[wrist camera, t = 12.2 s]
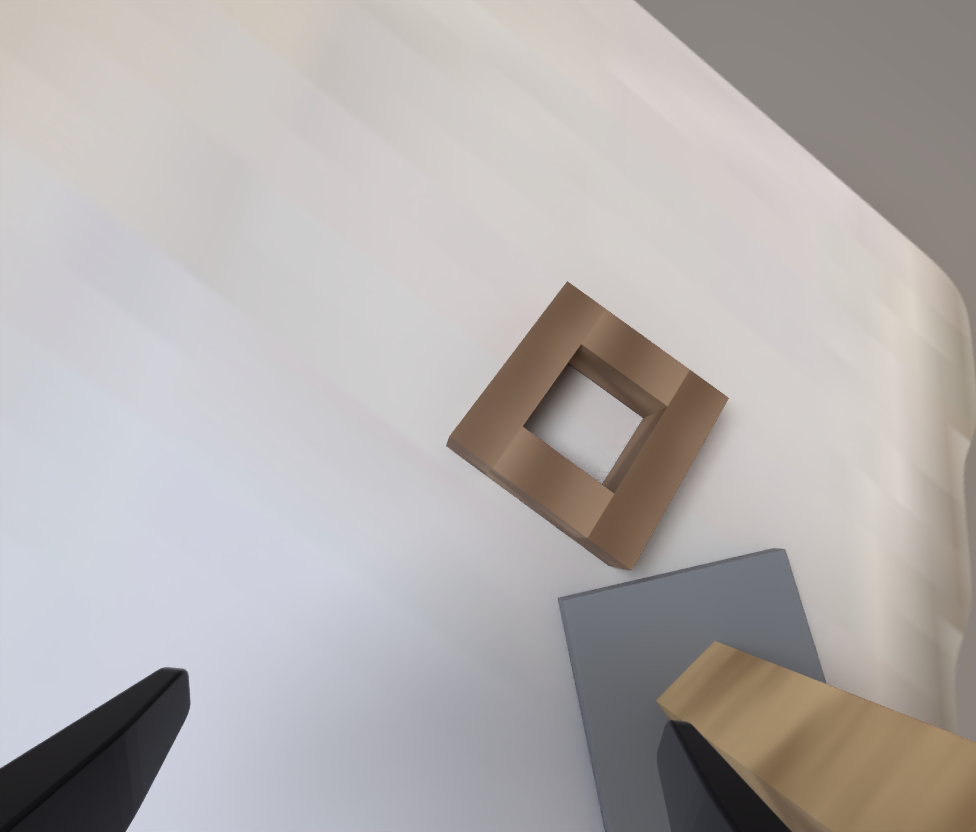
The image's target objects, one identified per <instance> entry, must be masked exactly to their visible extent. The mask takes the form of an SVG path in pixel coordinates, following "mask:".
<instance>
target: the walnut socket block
mask: <svg viewBox="0 0 976 832" xmlns="http://www.w3.org/2000/svg"><path fill="white" fill-rule="evenodd" d="M567 363H568V364H570V365H571V366H572V367H574V368H575V369H577V370H578V371H579V372H581V373H582V374H583V375H585V376H586V377H588V378H589V379H590V380H592V381H593V382H595V383H596V384H597V385H599V386H600V387H601V388H603V389H604V390H606V391H607V392H608V393H610V394H611V395H612V396H614V397H615V398H617V399H618V400H619V401H621V402H622V403H623V404H625V405H626V406H628V407H629V408H630V409H632V410H633V411H634V412H636V413H637V414H639V415H640V416H641V417H643V420H642V421H641V423H640V424H639V426H638V428H637V429H636V431H635V432H634V434H633V436H632V437H631V439H630V440H629V442H628V444H627V445H626V447H625V449H624V450H623V452H622V453H621V455H620V457H619V458H618V460H617V461H616V463H615V465H614V466H613V468H612V469H611V471H610V473H609V474H608V476H607V477H606V479H605V481H604V482H603V484H600V483H599V482H598V481H596V480H595V479H594V478H592V477H591V476H589V475H588V474H587V473H585V472H584V471H583V470H581V469H580V468H579V467H577V466H576V465H574V464H573V463H572V462H570V461H569V460H568V459H566V458H565V457H563V456H562V455H561V454H559V453H558V452H557V451H555V450H554V449H553V448H551V447H550V446H548V445H547V444H546V443H544V442H543V441H542V440H540V439H539V438H538V437H536V436H535V435H533V434H532V433H531V432H529V431H528V430H527V429H525V428H524V427H523V425H524V424H525V422H526V421H527V420H528V418H529V417H530V415H531V414H532V412H533V411H534V410H535V408H536V407H537V405H538V404H539V403H540V401H541V400H542V398H543V397H544V396H545V394H546V393H547V391H548V390H549V389H550V387H551V386H552V384H553V383H554V381H555V380H556V379H557V377H558V376H559V374H560V373H561V372H562V370H563V369H564V367H565V366H566V365H567ZM728 399H729V398H728V397H727V396H725V395H724V394H723V393H721V392H720V391H719V390H717V389H716V388H714V387H713V386H712V385H710V384H709V383H707V382H706V381H705V380H703V379H702V378H701V377H699V376H698V375H696V374H695V373H694V372H692V371H691V370H689V369H688V368H687V367H685V366H684V365H683V364H681V363H680V362H678V361H677V360H676V359H674V358H673V357H671V356H670V355H669V354H667V353H666V352H665V351H663V350H662V349H660V348H659V347H658V346H656V345H655V344H653V343H652V342H651V341H649V340H648V339H647V338H645V337H644V336H642V335H641V334H640V333H638V332H637V331H635V330H634V329H633V328H631V327H630V326H629V325H627V324H626V323H624V322H623V321H622V320H620V319H619V318H617V317H616V316H615V315H613V314H612V313H611V312H609V311H608V310H606V309H605V308H604V307H602V306H601V305H599V304H598V303H597V302H595V301H594V300H593V299H591V298H590V297H588V296H587V295H586V294H584V293H583V292H582V291H580V290H579V289H577V288H576V287H575V286H573V285H572V284H570V283H569V282H568V281H567V282H566V284H565V285H564V286H563V288H562V289H561V290H560V292H559V293H558V294H557V296H556V297H555V298H554V299H553V301H552V302H551V303H550V305H549V306H548V307H547V309H546V310H545V311H544V313H543V314H542V315H541V317H540V318H539V319H538V321H537V322H536V323H535V324H534V326H533V327H532V328H531V330H530V331H529V332H528V334H527V335H526V336H525V338H524V339H523V340H522V342H521V343H520V344H519V346H518V347H517V348H516V350H515V351H514V352H513V353H512V355H511V356H510V357H509V359H508V360H507V361H506V363H505V364H504V365H503V367H502V368H501V369H500V371H499V372H498V373H497V375H496V376H495V377H494V378H493V380H492V381H491V382H490V384H489V385H488V386H487V388H486V389H485V390H484V392H483V393H482V394H481V396H480V397H479V398H478V400H477V401H476V402H475V404H474V405H473V406H472V407H471V409H470V410H469V411H468V413H467V414H466V415H465V417H464V418H463V419H462V421H461V422H460V423H459V425H458V426H457V427H456V429H455V430H454V431H453V432H452V434H451V435H450V436H449V439H448V442H447V445H446V446H447V447H448V448H450V449H451V450H452V451H454V452H455V453H456V454H458V455H459V456H460V457H462V458H463V459H465V460H466V461H467V462H469V463H470V464H471V465H473V466H474V467H475V468H477V469H478V470H480V471H481V472H482V473H484V474H485V475H486V476H488V477H489V478H490V479H492V480H493V481H494V482H496V483H497V484H499V485H500V486H501V487H503V488H504V489H505V490H507V491H508V492H509V493H511V494H512V495H513V496H515V497H516V498H518V499H519V500H520V501H522V502H523V503H524V504H526V505H527V506H528V507H530V508H531V509H532V510H534V511H535V512H537V513H538V514H539V515H541V516H542V517H543V518H545V519H546V520H547V521H549V522H550V523H551V524H553V525H554V526H556V527H557V528H558V529H560V530H561V531H562V532H564V533H565V534H566V535H568V536H569V537H570V538H572V539H573V540H575V541H576V542H577V543H579V544H580V545H581V546H583V547H584V548H585V549H587V550H588V551H590V552H591V553H592V554H594V555H595V556H596V557H598V558H599V559H600V560H602V561H603V562H604V563H606V564H607V565H609V566H612V567H617V568H622V569H626V570H632V569H633V567H634V565H635V563H636V562H637V560H638V558H639V556H640V555H641V553H642V551H643V549H644V547H645V546H646V544H647V542H648V540H649V539H650V537H651V535H652V533H653V532H654V530H655V528H656V526H657V524H658V523H659V521H660V519H661V517H662V516H663V514H664V512H665V510H666V509H667V507H668V505H669V503H670V501H671V500H672V498H673V496H674V494H675V493H676V491H677V489H678V487H679V486H680V484H681V482H682V480H683V478H684V477H685V475H686V473H687V471H688V470H689V468H690V466H691V464H692V463H693V461H694V459H695V457H696V455H697V454H698V452H699V450H700V448H701V447H702V445H703V443H704V441H705V440H706V438H707V436H708V434H709V432H710V431H711V429H712V427H713V425H714V424H715V422H716V420H717V418H718V417H719V415H720V413H721V411H722V409H723V408H724V406H725V404H726V402H727V401H728Z"/></svg>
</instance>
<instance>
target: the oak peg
mask: <svg viewBox="0 0 976 832" xmlns="http://www.w3.org/2000/svg"><path fill="white" fill-rule="evenodd" d="M656 701H657V703H658V704H659V706H660V707H661V708H662V710H663V711H664V712H665V714H666V715H667V717H668V718H669V719H670V720H679V721H687V722H689V723H691V724H692V725H693V726H694V727H695V728H696V729H697V730H698V731H699V732H700V733H701V734H702V735H703V736H704V738H705V739H706V740H707V741H708V742H709V743H710V744H711V745H712V746H713V747H714V748H715V749H716V750H717V751H718V753H719V754H720V755H721V756H722V757H723V758H724V759H725V760H726V761H727V762H728V763H729V764H730V765H731V766H732V768H733V769H734V770H735V771H736V772H737V773H738V774H739V775H740V776H741V777H742V778H743V779H744V780H745V782H746V783H747V784H748V785H749V786H750V787H751V788H752V789H753V790H754V791H755V792H756V793H757V794H758V795H759V797H760V798H761V799H762V800H763V801H764V802H765V803H766V804H767V805H768V806H769V807H770V808H771V809H772V810H773V812H774V813H775V814H776V815H777V816H778V817H779V818H780V819H781V820H782V821H783V822H784V823H785V824H786V825H787V827H788V828H789V829H790V830H791V831H792V832H976V742H973V741H971V740H968V739H965V738H963V737H961V736H958V735H956V734H953V733H950V732H948V731H945V730H943V729H940V728H938V727H935V726H932V725H930V724H927V723H925V722H922V721H920V720H917V719H914V718H912V717H909V716H907V715H904V714H902V713H899V712H897V711H894V710H891V709H889V708H886V707H884V706H881V705H879V704H876V703H873V702H871V701H868V700H866V699H863V698H861V697H858V696H856V695H853V694H850V693H848V692H845V691H843V690H840V689H838V688H835V687H832V686H830V685H827V684H825V683H822V682H820V681H817V680H814V679H812V678H809V677H807V676H804V675H802V674H799V673H797V672H794V671H791V670H789V669H786V668H784V667H781V666H779V665H776V664H773V663H771V662H768V661H766V660H763V659H761V658H758V657H755V656H753V655H750V654H748V653H745V652H743V651H740V650H738V649H735V648H732V647H730V646H727V645H725V644H722V643H720V642H717V641H714V642H713V643H712V644H711V645H710V646H709V647H708V648H707V649H706V650H705V651H704V652H703V653H702V654H701V655H700V656H699V657H698V658H697V659H696V660H695V661H694V662H693V663H692V664H691V665H690V666H689V667H688V668H687V669H686V670H685V671H684V672H683V674H682V675H681V676H680V677H679V678H678V679H677V680H676V681H675V682H674V683H673V684H672V685H671V686H670V687H669V688H668V689H667V690H666V691H665V692H664V693H663V694H662V695H661V696H660V697H659V698H658V699H657V700H656Z"/></svg>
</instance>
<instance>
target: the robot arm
mask: <svg viewBox="0 0 976 832" xmlns="http://www.w3.org/2000/svg"><path fill="white" fill-rule="evenodd" d="M189 709H190V688H189V675H188V672H187V671H186V670H185V669H181V668H171V667H164V668H161V669H159V670H157V671H156V672H154V673H152V674H151V675H149V676H147V677H146V678H144V679H143V680H141V681H139V682H138V683H136V684H135V685H133V686H131V687H130V688H128V689H127V690H125V691H123V692H122V693H120V694H119V695H117V696H115V697H114V698H112V699H111V700H109V701H107V702H106V703H104V704H103V705H101V706H99V707H98V708H96V709H95V710H93V711H91V712H90V713H88V714H87V715H85V716H83V717H82V718H80V719H79V720H77V721H75V722H74V723H72V724H70V725H69V726H67V727H66V728H64V729H62V730H61V731H59V732H58V733H56V734H54V735H53V736H51V737H50V738H48V739H46V740H45V741H43V742H42V743H40V744H38V745H37V746H35V747H34V748H32V749H30V750H29V751H27V752H26V753H24V754H22V755H21V756H19V757H18V758H16V759H14V760H13V761H11V762H10V763H8V764H6V765H5V766H3V767H2V768H0V832H126V830H127V829H128V827H129V825H130V824H131V822H132V820H133V819H134V817H135V815H136V813H137V812H138V810H139V808H140V806H141V804H142V802H143V801H144V799H145V797H146V795H147V793H148V791H149V789H150V787H151V785H152V783H153V781H154V779H155V777H156V776H157V774H158V772H159V770H160V768H161V766H162V764H163V762H164V760H165V758H166V756H167V754H168V752H169V751H170V749H171V747H172V745H173V743H174V741H175V739H176V737H177V735H178V733H179V731H180V729H181V727H182V726H183V724H184V722H185V720H186V718H187V715H188V713H189ZM657 767H658V772H659V777H660V782H661V786H662V791H663V796H664V801H665V806H666V810H667V815H668V820H669V825H670V830H671V832H792V831H791V830H790V829H789V828H788V827H787V825H786V824H785V823H784V822H783V821H782V820H781V819H780V818H779V817H778V816H777V815H776V814H775V813H774V812H773V810H772V809H771V808H770V807H769V806H768V805H767V804H766V803H765V802H764V801H763V800H762V799H761V798H760V797H759V795H758V794H757V793H756V792H755V791H754V790H753V789H752V788H751V787H750V786H749V785H748V784H747V783H746V782H745V780H744V779H743V778H742V777H741V776H740V775H739V774H738V773H737V772H736V771H735V770H734V769H733V768H732V766H731V765H730V764H729V763H728V762H727V761H726V760H725V759H724V758H723V757H722V756H721V755H720V754H719V753H718V751H717V750H716V749H715V748H714V747H713V746H712V745H711V744H710V743H709V742H708V741H707V740H706V739H705V738H704V736H703V735H702V734H701V733H700V732H699V731H698V730H697V729H696V728H695V727H694V726H693V725H692V724H691V723H689V722H687V721H679V720H668V721H667V722H666V724H665V726H664V729H663V733H662V736H661V739H660V743H659V746H658V749H657Z"/></svg>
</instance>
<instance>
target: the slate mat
mask: <svg viewBox="0 0 976 832" xmlns="http://www.w3.org/2000/svg"><path fill="white" fill-rule="evenodd" d="M558 601H559V606H560V611H561V616H562V621H563V625H564V630H565V635H566V640H567V645H568V650H569V655H570V660H571V665H572V670H573V674H574V679H575V684H576V689H577V694H578V699H579V704H580V709H581V714H582V719H583V724H584V728H585V733H586V738H587V743H588V748H589V753H590V758H591V763H592V768H593V773H594V777H595V782H596V787H597V792H598V797H599V802H600V807H601V812H602V817H603V822H604V827H605V831H606V832H671V830H670V825H669V820H668V815H667V810H666V806H665V801H664V796H663V791H662V786H661V782H660V777H659V772H658V767H657V749H658V746H659V743H660V739H661V736H662V733H663V729H664V726H665V724H666V722H667V721H668V720H670V719H669V718H668V717H667V715H666V714H665V712H664V711H663V710H662V708H661V707H660V706H659V704H658V703H657V701H656V700H657V699H658V698H659V697H660V696H661V695H662V694H663V693H664V692H665V691H666V690H667V689H668V688H669V687H670V686H671V685H672V684H673V683H674V682H675V681H676V680H677V679H678V678H679V677H680V676H681V675H682V674H683V672H684V671H685V670H686V669H687V668H688V667H689V666H690V665H691V664H692V663H693V662H694V661H695V660H696V659H697V658H698V657H699V656H700V655H701V654H702V653H703V652H704V651H705V650H706V649H707V648H708V647H709V646H710V645H711V644H712V643H713V642H714V641H717V642H720V643H722V644H725V645H727V646H730V647H732V648H735V649H738V650H740V651H743V652H745V653H748V654H750V655H753V656H755V657H758V658H761V659H763V660H766V661H768V662H771V663H773V664H776V665H779V666H781V667H784V668H786V669H789V670H791V671H794V672H797V673H799V674H802V675H804V676H807V677H809V678H812V679H814V680H817V681H820V682H822V683H825V684H826V681H825V678H824V675H823V671H822V668H821V665H820V661H819V658H818V655H817V652H816V648H815V645H814V642H813V639H812V635H811V632H810V629H809V626H808V622H807V619H806V616H805V613H804V609H803V606H802V603H801V600H800V596H799V593H798V590H797V587H796V583H795V580H794V577H793V573H792V570H791V567H790V564H789V560H788V557H787V554H786V551H785V549H774V548H773V549H769V550H765V551H760V552H756V553H752V554H747V555H743V556H738V557H734V558H730V559H725V560H721V561H717V562H712V563H708V564H704V565H699V566H695V567H691V568H686V569H682V570H678V571H673V572H669V573H665V574H660V575H656V576H652V577H647V578H643V579H639V580H634V581H630V582H625V583H621V584H617V585H612V586H608V587H604V588H599V589H595V590H591V591H586V592H582V593H578V594H573V595H569V596H565V597H560V598H558Z"/></svg>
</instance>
